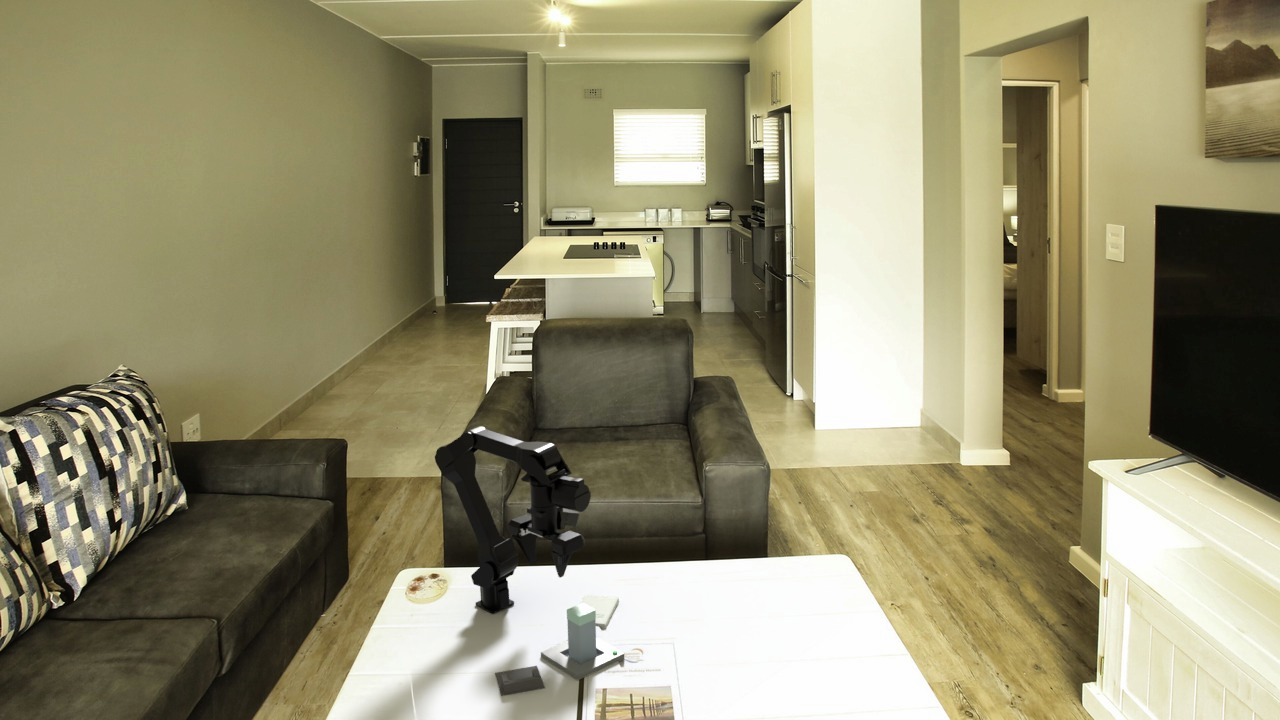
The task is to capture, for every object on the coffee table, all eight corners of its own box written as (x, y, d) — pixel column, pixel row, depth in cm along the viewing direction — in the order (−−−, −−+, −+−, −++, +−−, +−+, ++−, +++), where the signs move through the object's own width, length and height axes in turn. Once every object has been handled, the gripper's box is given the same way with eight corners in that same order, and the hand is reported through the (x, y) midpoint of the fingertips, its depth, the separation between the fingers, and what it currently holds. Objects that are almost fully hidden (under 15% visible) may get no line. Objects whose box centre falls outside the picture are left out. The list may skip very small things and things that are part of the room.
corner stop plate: (494, 675, 184) (494, 663, 183) (536, 667, 186) (536, 656, 186) (501, 698, 176) (500, 686, 176) (545, 690, 178) (544, 678, 178)
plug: (568, 659, 189) (566, 609, 187) (584, 652, 192) (582, 602, 190) (580, 667, 186) (579, 616, 184) (596, 659, 189) (595, 610, 187)
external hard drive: (619, 603, 214) (605, 630, 202) (584, 600, 215) (569, 627, 203) (618, 597, 213) (605, 623, 201) (584, 594, 215) (569, 620, 203)
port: (541, 658, 190) (540, 650, 189) (587, 638, 197) (586, 630, 197) (577, 682, 181) (577, 674, 180) (624, 659, 189) (624, 651, 188)
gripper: (601, 502, 198) (603, 570, 202) (543, 482, 211) (546, 547, 214) (563, 517, 190) (565, 588, 194) (504, 496, 203) (508, 563, 206)
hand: (546, 570), depth 202 cm, fingers open, 9 cm apart
